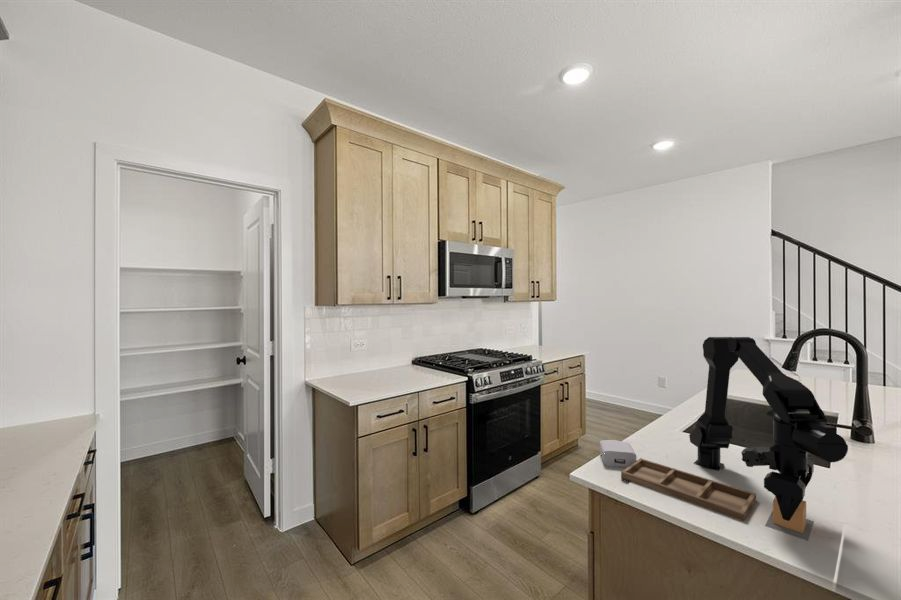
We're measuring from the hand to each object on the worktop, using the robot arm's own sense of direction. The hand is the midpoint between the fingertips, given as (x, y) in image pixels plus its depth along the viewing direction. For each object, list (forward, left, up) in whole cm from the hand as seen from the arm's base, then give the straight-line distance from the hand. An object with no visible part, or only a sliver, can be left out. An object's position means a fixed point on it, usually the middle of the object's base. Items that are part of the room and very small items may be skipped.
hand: (789, 511), depth 86 cm
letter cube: (0, 0, -3) cm, 3 cm away
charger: (-7, -43, -4) cm, 44 cm away
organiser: (0, -21, -3) cm, 21 cm away
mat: (0, 0, -3) cm, 3 cm away
